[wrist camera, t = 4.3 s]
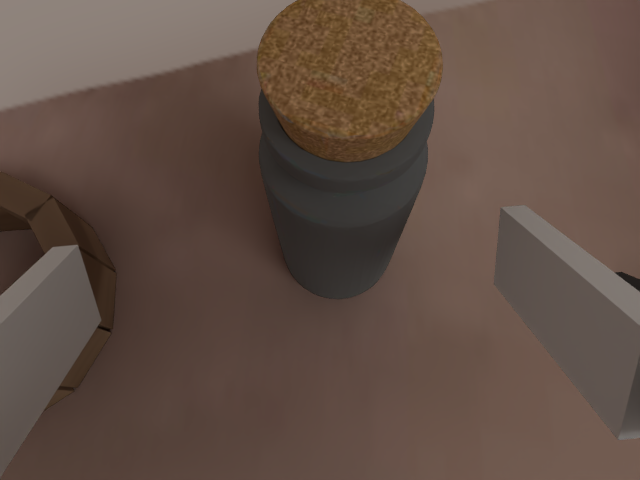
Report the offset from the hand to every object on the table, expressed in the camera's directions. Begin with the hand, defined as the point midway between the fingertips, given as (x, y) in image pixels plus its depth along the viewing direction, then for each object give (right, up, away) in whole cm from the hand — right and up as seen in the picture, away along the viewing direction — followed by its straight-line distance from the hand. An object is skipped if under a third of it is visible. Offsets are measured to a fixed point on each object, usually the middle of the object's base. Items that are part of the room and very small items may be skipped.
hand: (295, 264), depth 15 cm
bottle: (+2, 0, +11) cm, 11 cm away
